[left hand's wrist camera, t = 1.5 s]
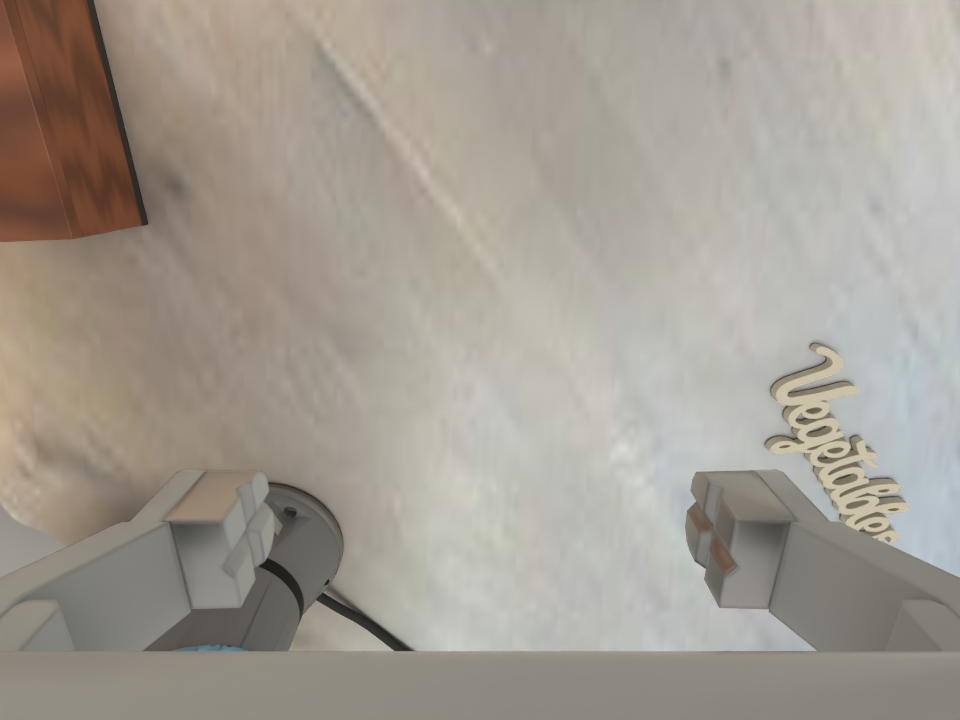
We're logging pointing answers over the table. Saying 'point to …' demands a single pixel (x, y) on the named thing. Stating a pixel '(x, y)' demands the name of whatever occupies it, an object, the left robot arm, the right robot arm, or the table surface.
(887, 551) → the left robot arm
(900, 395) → the table surface
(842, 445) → the decorative sign
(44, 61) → the cabinet
